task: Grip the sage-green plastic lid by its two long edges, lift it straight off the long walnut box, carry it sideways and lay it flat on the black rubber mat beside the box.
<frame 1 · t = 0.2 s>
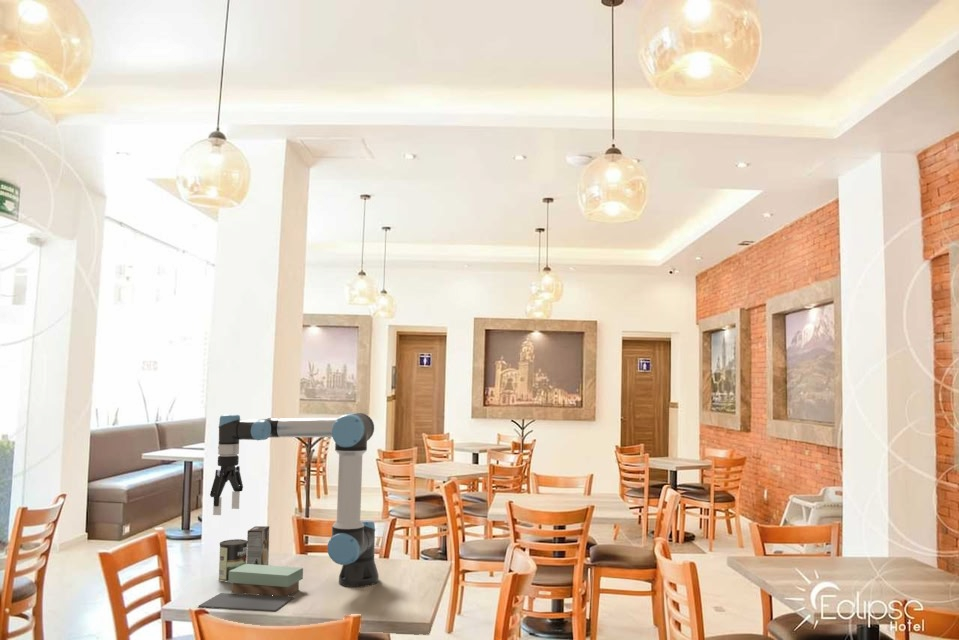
hand: (226, 511, 264), 27 cm above the table, tool pointing down, fingers open, 13 cm apart
coffee can: (232, 579, 271), on the table
coffee box: (257, 568, 287), on the table
box: (265, 591, 255), on the table, touching lid
mat: (247, 602, 241), on the table
lid: (265, 580, 255), point 4 cm above the table, touching box
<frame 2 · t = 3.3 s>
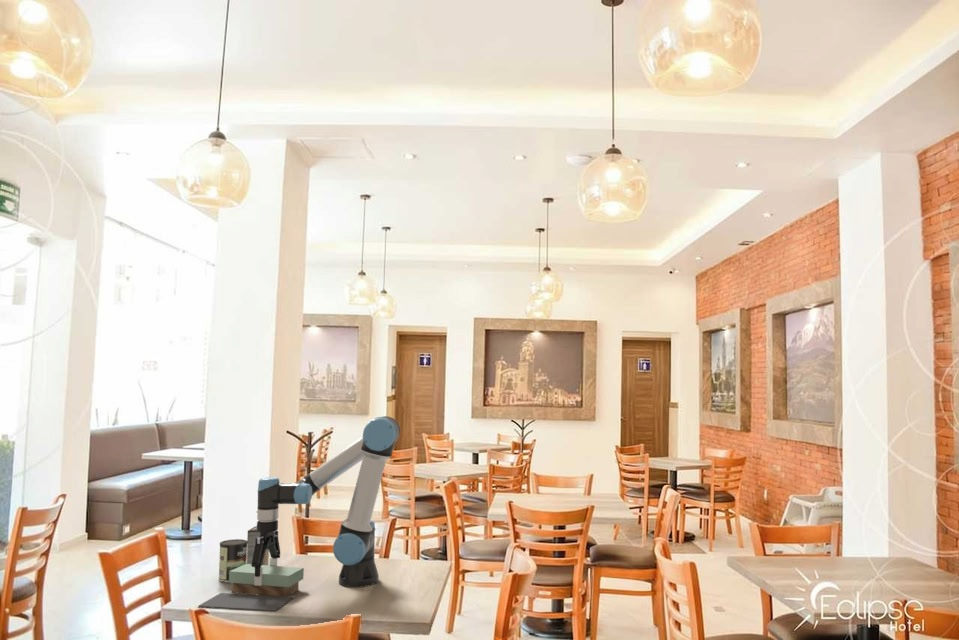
hand: (265, 580, 255), 4 cm above the table, tool pointing down, fingers closed on lid, 11 cm apart
lid: (266, 580, 255), point 4 cm above the table, touching box, gripper
everything else where it was.
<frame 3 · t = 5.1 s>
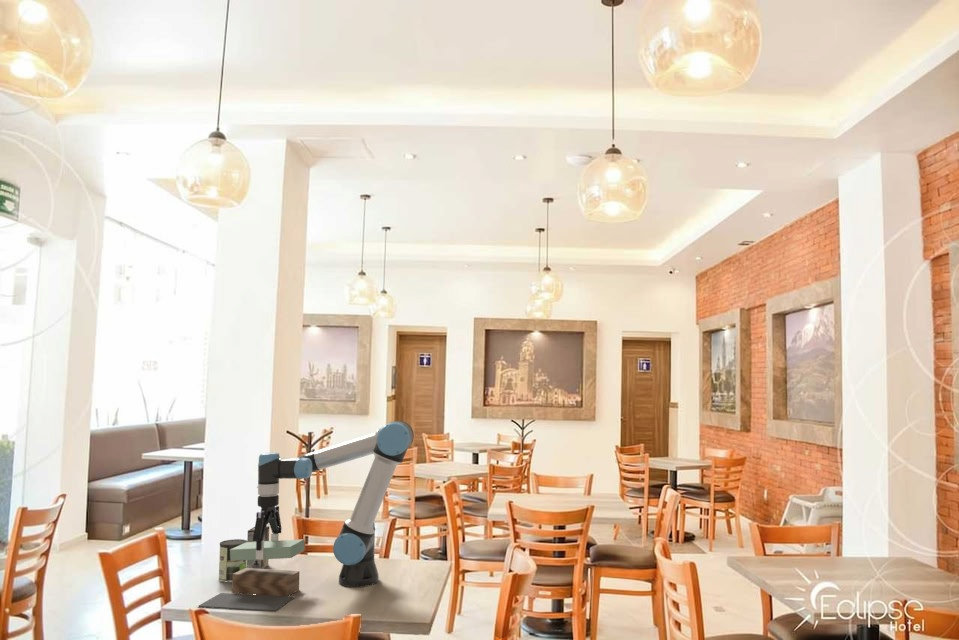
hand: (267, 555, 256), 13 cm above the table, tool pointing down, fingers closed on lid, 11 cm apart
box: (265, 592, 255), on the table
lid: (268, 555, 256), point 13 cm above the table, tilted 6°, touching gripper
everything else where it was.
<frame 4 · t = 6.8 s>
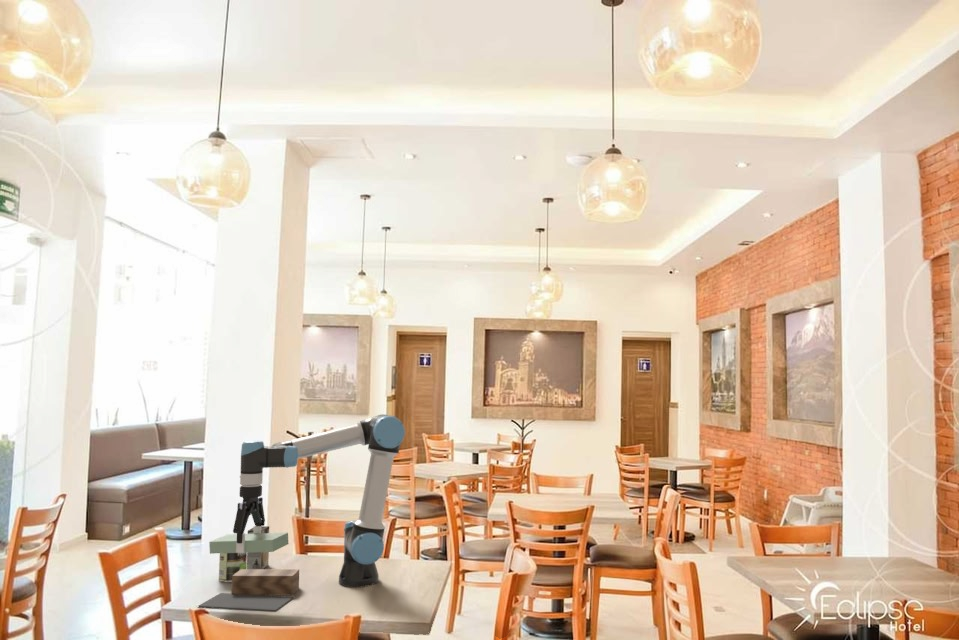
hand: (248, 548, 243), 18 cm above the table, tool pointing down, fingers closed on lid, 11 cm apart
lid: (249, 548, 243), point 18 cm above the table, touching gripper
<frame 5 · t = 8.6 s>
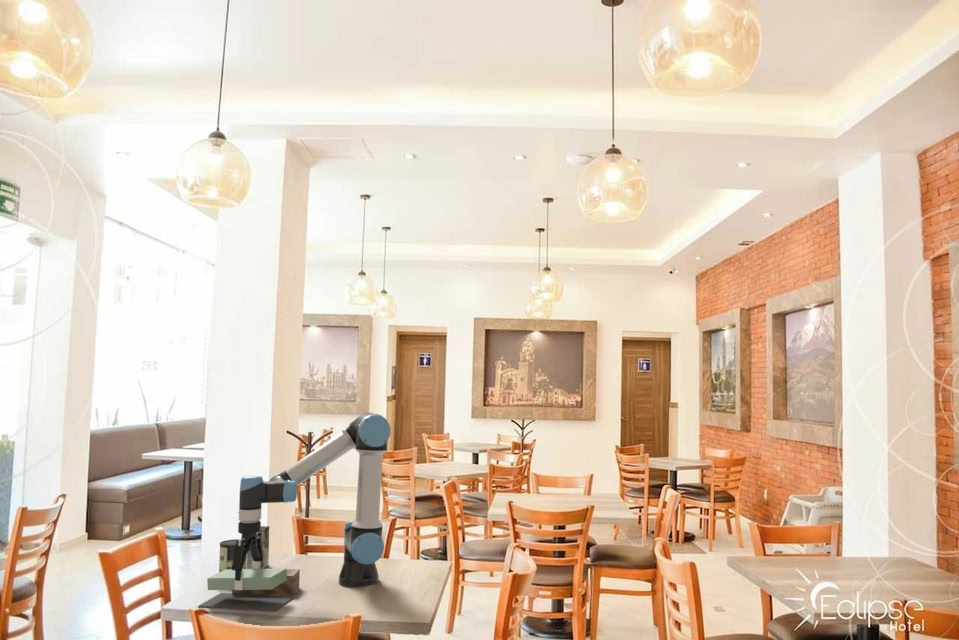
hand: (247, 585, 242), 6 cm above the table, tool pointing down, fingers closed on lid, 11 cm apart
lid: (247, 585, 242), point 6 cm above the table, touching gripper
everything else where it was.
when the fingers open (3 cm above the table, at t = 10.2 s): lid drops 2 cm, resting on mat.
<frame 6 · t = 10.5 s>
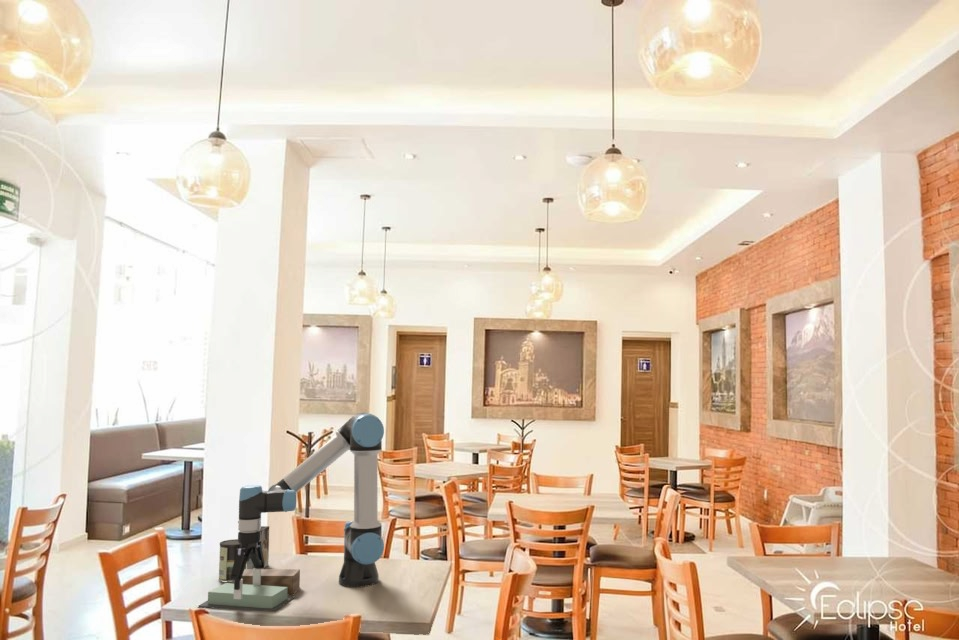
hand: (247, 593, 242), 3 cm above the table, tool pointing down, fingers open, 13 cm apart
lid: (247, 601, 241), resting on mat
everything else where it was.
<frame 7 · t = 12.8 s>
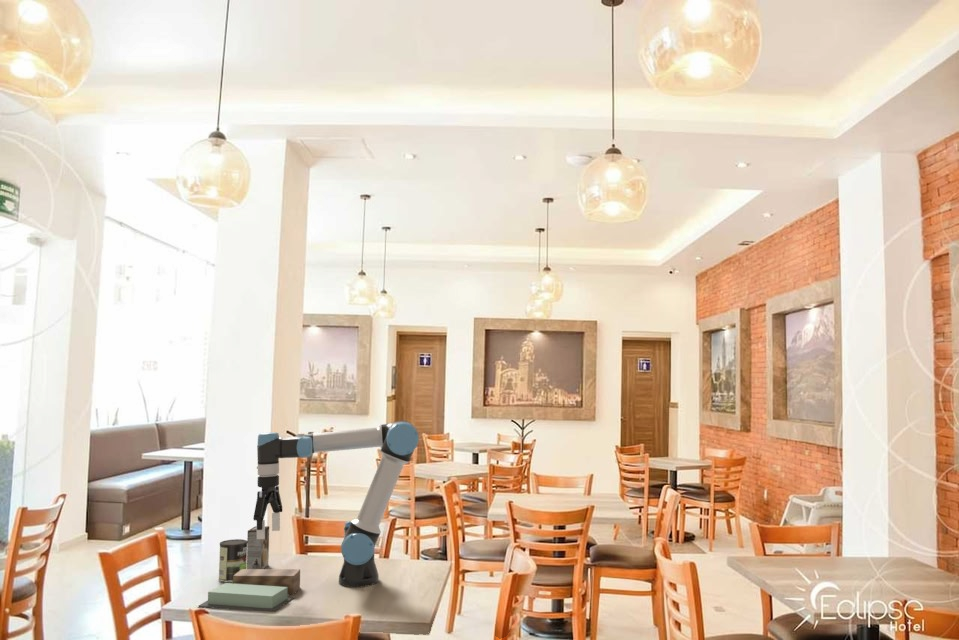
hand: (268, 534, 252), 21 cm above the table, tool pointing down, fingers open, 13 cm apart
nothing on the table moved.
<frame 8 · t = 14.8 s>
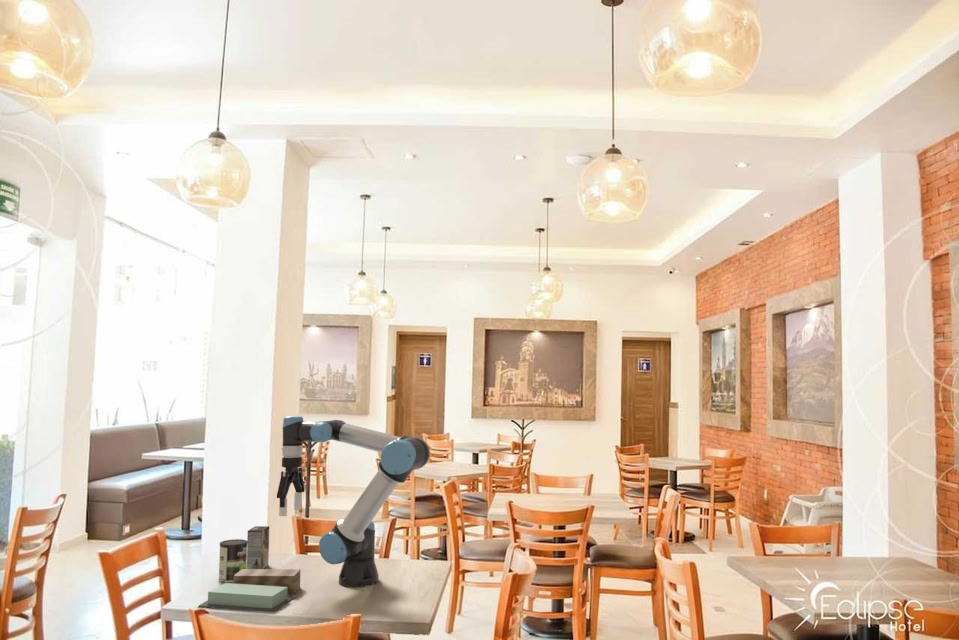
hand: (290, 512, 266), 27 cm above the table, tool pointing down, fingers open, 13 cm apart
nothing on the table moved.
at the end: lid 0.4 cm off-centre on the mat, point 0.5 cm above the mat's base; lid tilted 0°; box moved 0.8 cm from its start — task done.
